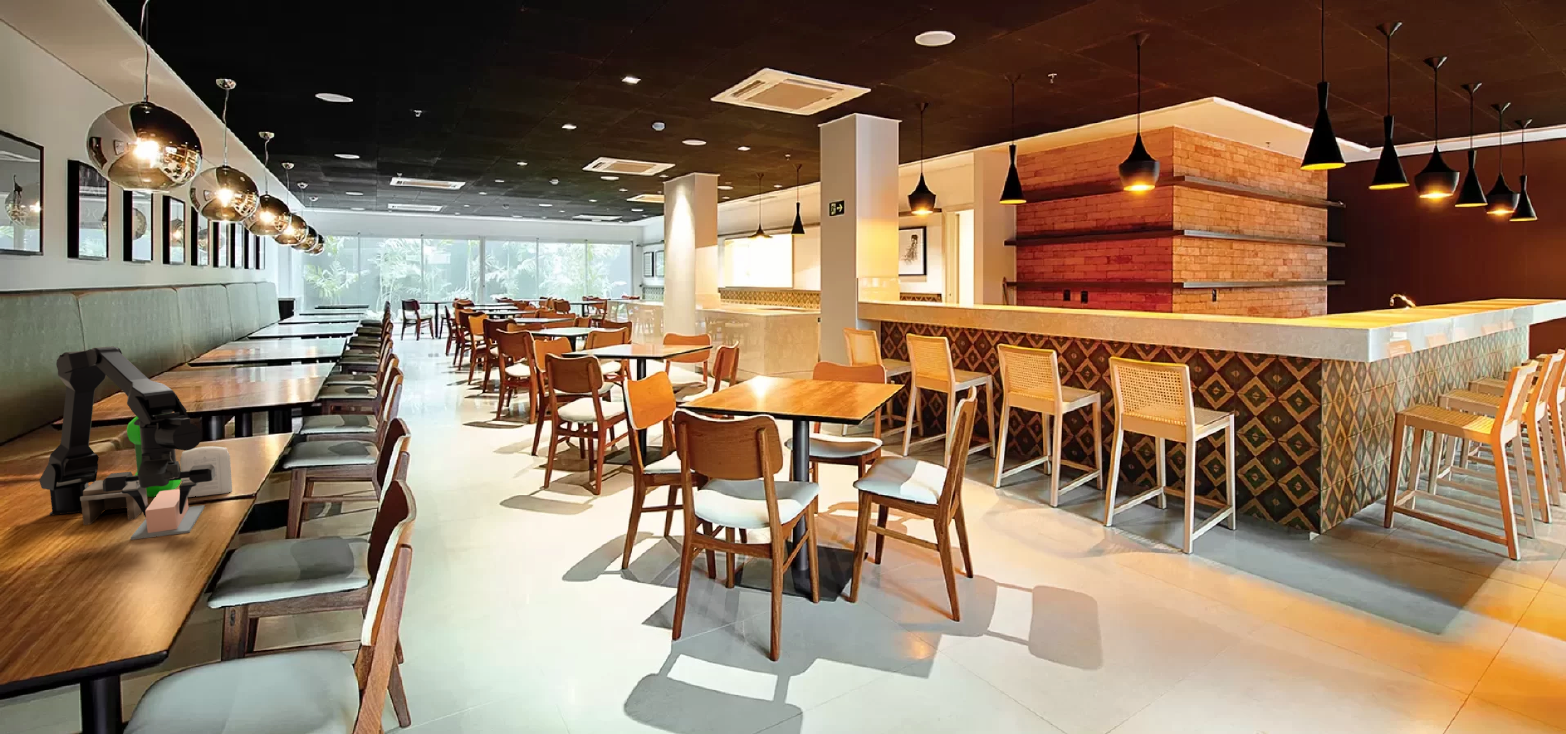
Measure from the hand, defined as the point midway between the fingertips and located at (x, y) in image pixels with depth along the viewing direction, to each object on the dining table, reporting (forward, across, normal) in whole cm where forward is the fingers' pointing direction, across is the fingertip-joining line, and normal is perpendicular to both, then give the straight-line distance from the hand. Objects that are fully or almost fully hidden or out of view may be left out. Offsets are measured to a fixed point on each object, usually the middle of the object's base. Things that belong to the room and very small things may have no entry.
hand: (164, 515), depth 171 cm
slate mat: (+3, 0, +5) cm, 6 cm away
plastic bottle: (+3, -7, +34) cm, 35 cm away
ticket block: (+2, 0, +5) cm, 6 cm away
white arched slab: (+3, +4, +28) cm, 29 cm away
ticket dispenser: (+3, -12, +18) cm, 21 cm away
